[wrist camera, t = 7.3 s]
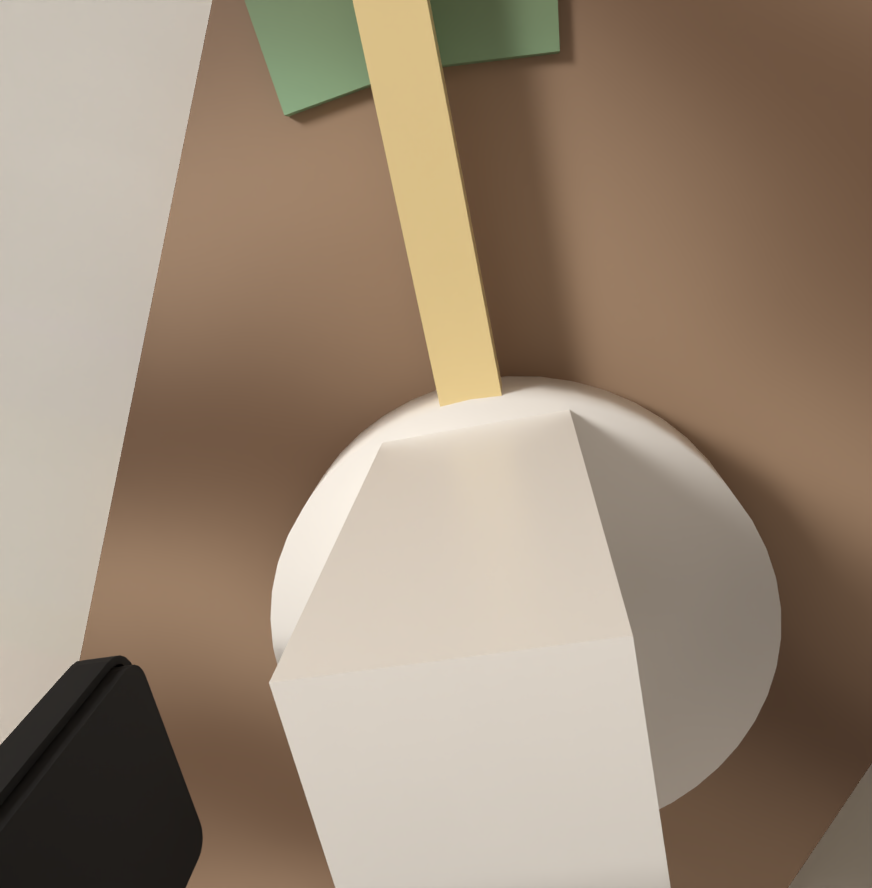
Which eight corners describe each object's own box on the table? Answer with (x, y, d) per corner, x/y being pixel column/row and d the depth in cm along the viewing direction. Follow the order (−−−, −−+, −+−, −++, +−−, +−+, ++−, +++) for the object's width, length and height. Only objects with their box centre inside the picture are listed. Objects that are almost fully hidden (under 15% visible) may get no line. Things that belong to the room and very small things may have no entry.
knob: (771, 757, 12) (1011, 1281, 6) (352, 801, 13) (233, 1286, 7) (678, -259, 8) (1101, -1332, 2) (86, -83, 9) (-634, -536, 3)
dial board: (599, 1076, 18) (608, 1166, 16) (57, 901, 17) (12, 975, 16) (1338, -96, 10) (1504, -151, 8) (356, -464, 9) (324, -600, 8)
